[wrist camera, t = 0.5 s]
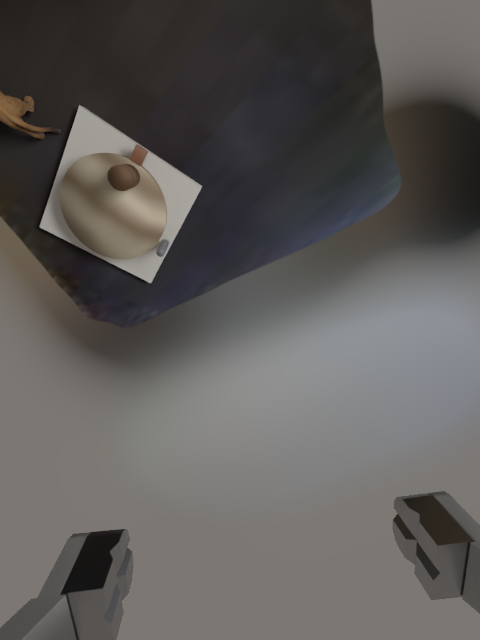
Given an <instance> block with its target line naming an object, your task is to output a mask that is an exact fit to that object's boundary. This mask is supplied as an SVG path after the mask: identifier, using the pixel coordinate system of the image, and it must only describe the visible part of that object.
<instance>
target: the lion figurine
mask: <svg viewBox="0 0 480 640" xmlns="http://www.w3.org/2000/svg"><path fill="white" fill-rule="evenodd" d="M23 101H24V102H23ZM23 101H22V100H20V99H18V98H15V97H11V96H5V95H4V94H3V93H2V92H1V91H0V121H2V122H3V123H5V124H6V125H8V126H10V127H11V128H14V129H17V130H20V131H23V132H25V133H27V134H29V135H31V136H32V137H34V138H39V139H44V137H45V135H44V133H43V132H54V133H60V132H61V131H60V130H59V129H57V128H54V127H46V128H42V127H36V126H32V125H30V124H27V123H25V122H23V120H22V118H21V117H22V116H23V115H24V114H25V113H26V111H30V112H34V101H33V99H32V98H31V97H30V96H25V97H24V99H23Z"/></svg>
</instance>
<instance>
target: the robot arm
mask: <svg viewBox="0 0 480 640" xmlns="http://www.w3.org/2000/svg"><path fill="white" fill-rule="evenodd" d="M394 509H395V510H396V511H397V513H398V514H397V515H396V517H395V518H394V519H393V532H394V536H395V540H396V542H397V544H398V547H399V549H400V550H401V552H402V554H403V555H404V557H405V558H407V559H408V560H409V561H411V562H412V563H413V564H415V575H416V576H417V578H418V579H419V581H420V583H421V584H422V586H423V587H424V589H425V591H426V592H427V594H428V595H429V597H430V599H431V600H436V599H445V598H455V597H463V598H462V599H463V600H464V601H465V602H467V603H468V604H469V605H470V606H471V607H473V608H474V609H475V610H476V611H477V612H479V613H480V525H479V524H478V523H477V522H476V521H475V520H474V519H473V518H472V517H471V516H470V515H469V514H468V513H467V512H466V511H465V510H464V509H463V508H462V507H461V506H460V505H459V504H458V503H457V502H456V501H455V499H454V498H453V497H452V496H451V495H450V494H448V493H446V492H445V491H442V492H434V493H428V494H426V493H425V494H417V495H409V496H402V497H397V498H396V499H395V501H394ZM128 543H129V534H128V530H126V529H121V530H109V531H98V532H90V533H79V534H73V535H72V536H71V537H70V538H69V539H68V540H67V542H66V544H65V546H64V548H63V550H62V552H61V554H60V555H59V558H58V559H57V561H56V563H55V565H54V567H53V569H52V571H51V573H50V574H49V576H48V578H47V580H46V582H45V584H44V586H43V588H42V590H41V592H40V594H39V596H38V597H37V598H35V599H31V600H30V601H28V602H27V604H25V605H24V606H23V607H22V608H21V609H20V610H19V611H18V612H17V613H16V614H15V615H14V616H12V617H11V618H10V619H9V620H8V621H7V622H6V623H5V624H4V625H3V626H2V627H1V628H0V640H116V638H117V635H118V631H119V627H120V623H121V620H122V616H123V608H122V600H123V599H124V598H125V597H126V595H127V594H128V593H129V589H130V585H131V580H132V572H133V556H132V551H131V550H130V549H128V548H127V546H128Z"/></svg>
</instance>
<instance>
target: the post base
mask: <svg viewBox="0 0 480 640" xmlns="http://www.w3.org/2000/svg"><path fill="white" fill-rule="evenodd" d="M135 145H139V146H141V145H140V144H138V143H137V142H135V141H134V140H132V139H131V138H129V137H128V136H126V135H125V134H123V133H122V132H120V131H119V130H117V129H116V128H114V127H113V126H111V125H110V124H108V123H107V122H105V121H104V120H102V119H101V118H99V117H98V116H96V115H95V114H93V113H92V112H90V111H89V110H87V109H86V108H84V107H82V106H80V105H79V108H78V111H77V114H76V117H75V120H74V123H73V126H72V129H71V132H70V135H69V138H68V141H67V145H66V148H65V151H64V154H63V157H62V160H61V163H60V166H59V169H58V172H57V175H56V178H55V181H54V184H53V187H52V190H51V193H50V196H49V199H48V202H47V206H46V209H45V212H44V215H43V218H42V221H41V224H40V228H42V229H44V230H46V231H48V232H50V233H52V234H54V235H56V236H58V237H60V238H62V239H64V240H66V241H68V242H70V243H72V244H74V245H76V246H78V247H80V248H82V249H84V250H86V251H88V252H89V253H91V254H93V255H95V256H97V257H99V258H101V259H103V260H105V261H107V262H109V263H111V264H113V265H115V266H117V267H119V268H121V269H123V270H125V271H127V272H129V273H131V274H133V275H135V276H137V277H139V278H141V279H143V280H145V281H147V282H149V283H151V282H152V280H153V278H154V276H155V275H156V273H157V271H158V269H159V267H160V265H161V263H162V261H163V259H164V258H165V256H166V254H167V252H168V250H169V248H170V246H171V244H172V242H173V241H174V239H175V237H176V235H177V233H178V231H179V229H180V227H181V226H182V224H183V222H184V220H185V218H186V216H187V214H188V212H189V210H190V209H191V207H192V205H193V203H194V201H195V199H196V197H197V195H198V193H199V192H200V190H201V188H202V185H200V184H199V183H197V182H196V181H194V180H192V179H191V178H189V177H188V176H186V175H185V174H183V173H182V172H180V171H179V170H177V169H176V168H174V167H173V166H171V165H170V164H168V163H167V162H165V161H164V160H162V159H161V158H159V157H158V156H156V155H155V154H153V153H152V152H150V151H149V150H147V149H146V148H144V147H143V146H141V147H142V148H144V149H145V150H147V151H148V153H147V155H146V157H145V160H144V162H143V164H142V166H143V167H144V168H145V169H146V170H147V171H148V172H149V173H150V174H151V175H152V176H153V177H154V179H155V180H156V182H157V183H158V185H159V187H160V188H161V190H162V193H163V195H164V198H165V202H166V208H167V221H166V226H165V229H164V232H163V234H162V236H161V238H160V239H159V241H158V243H157V244H156V245H155V246H154V247H153V248H152V249H151V250H150V251H148V252H147V253H145V254H143V255H141V256H139V257H136V258H132V259H113V258H109V257H105V256H102V255H100V254H98V253H96V252H94V251H92V250H91V249H89V248H88V247H86V246H85V245H84V244H83V243H82V242H80V241H79V240H78V238H77V237H76V236H75V235H74V234H73V232H72V231H71V230H70V228H69V226H68V225H67V223H66V221H65V218H64V216H63V213H62V210H61V204H60V187H61V183H62V180H63V178H64V175H65V174H66V172H67V170H68V169H69V168H70V167H71V166H72V164H74V163H75V162H76V161H77V160H79V159H81V158H83V157H84V156H87V155H90V154H95V153H114V154H119V155H123V156H125V157H128V158H130V157H131V155H132V152H133V150H134V148H135Z"/></svg>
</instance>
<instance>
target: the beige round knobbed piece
mask: <svg viewBox="0 0 480 640" xmlns="http://www.w3.org/2000/svg"><path fill="white" fill-rule="evenodd" d="M147 153H148V151H147V150H145V149H144V148H142V147H141V146H139V145H135V148H134V150H133V152H132V155H131V157H130V158H128V157H125V156H123V155H119V154H114V153H95V154H90V155H87V156H84V157H83V158H81V159H79V160H77V161H76V162H75V163H74V164H72V166H71V167H70V168H69V169H68V170H67V172H66V174H65V175H64V178H63V180H62V183H61V187H60V204H61V210H62V213H63V216H64V218H65V221H66V223H67V225H68V226H69V228H70V230H71V231H72V232H73V234H74V235H75V236H76V237H77V238H78V240H79V241H80V242H82V243H83V244H84V245H85V246H86V247H88V248H89V249H91V250H92V251H94V252H96V253H98V254H100V255H102V256H105V257H109V258H113V259H132V258H136V257H139V256H141V255H143V254H145V253H147V252H148V251H150V250H151V249H152V248H153V247H154V246H155V245H156V244H157V243H158V241H159V239H160V238H161V236H162V234H163V232H164V229H165V226H166V221H167V208H166V202H165V198H164V195H163V193H162V190H161V188H160V187H159V185H158V183H157V182H156V180H155V179H154V177H153V176H152V175H151V174H150V173H149V172H148V171H147V170H146V169H145V168H144V167H143V166H142V164H143V162H144V160H145V157H146V155H147Z"/></svg>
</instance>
